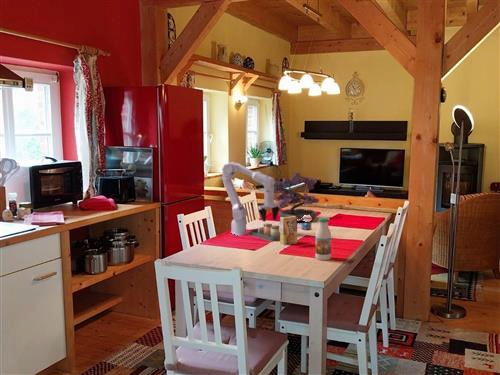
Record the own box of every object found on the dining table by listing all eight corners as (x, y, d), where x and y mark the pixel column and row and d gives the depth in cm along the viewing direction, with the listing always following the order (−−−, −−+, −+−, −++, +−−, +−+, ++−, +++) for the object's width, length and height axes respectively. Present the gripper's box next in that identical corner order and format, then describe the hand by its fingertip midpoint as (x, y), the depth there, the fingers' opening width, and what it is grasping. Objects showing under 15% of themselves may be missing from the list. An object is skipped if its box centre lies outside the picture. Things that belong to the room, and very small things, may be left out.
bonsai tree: (320, 216, 345) (321, 171, 341) (315, 224, 319) (315, 175, 315) (273, 215, 355) (272, 171, 351) (264, 222, 329) (263, 174, 325)
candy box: (293, 242, 270) (293, 215, 268) (297, 244, 266) (297, 217, 264) (279, 244, 266) (279, 217, 264) (283, 246, 262) (283, 218, 260)
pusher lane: (248, 236, 288) (248, 229, 288) (264, 233, 295) (264, 227, 295) (271, 242, 270) (271, 236, 270) (287, 239, 277) (287, 233, 277)
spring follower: (255, 234, 288) (255, 227, 287) (263, 233, 291) (263, 225, 291) (259, 235, 284) (259, 228, 284) (267, 234, 288) (267, 226, 287)
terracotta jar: (262, 236, 283) (261, 224, 282) (268, 235, 286) (268, 223, 285) (267, 237, 279) (266, 225, 278) (273, 236, 282) (273, 224, 281)
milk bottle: (313, 256, 241) (313, 217, 238) (329, 256, 241) (329, 216, 239) (317, 260, 233) (317, 220, 231) (333, 260, 234) (333, 219, 231)
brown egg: (268, 238, 278) (268, 226, 277) (275, 237, 281) (275, 225, 280) (274, 239, 274) (274, 227, 273) (281, 238, 277) (281, 226, 276)
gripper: (263, 199, 277) (263, 223, 279) (283, 197, 285) (283, 220, 287) (256, 198, 283) (256, 221, 285) (275, 196, 291) (275, 218, 293)
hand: (269, 220), depth 286 cm, fingers open, 7 cm apart
